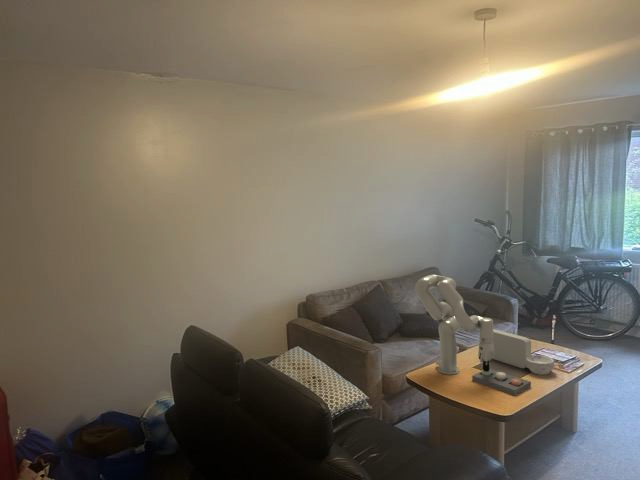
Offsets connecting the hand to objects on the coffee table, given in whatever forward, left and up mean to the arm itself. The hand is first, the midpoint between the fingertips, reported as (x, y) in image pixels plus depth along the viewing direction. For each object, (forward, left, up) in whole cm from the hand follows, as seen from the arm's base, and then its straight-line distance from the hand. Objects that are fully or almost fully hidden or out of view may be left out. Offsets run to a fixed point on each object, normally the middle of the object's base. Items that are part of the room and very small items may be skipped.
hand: (486, 370), depth 263 cm
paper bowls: (+15, +31, -5) cm, 35 cm away
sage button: (0, 0, -3) cm, 3 cm away
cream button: (+9, 0, -2) cm, 9 cm away
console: (+9, 0, -5) cm, 10 cm away
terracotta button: (+18, 0, -3) cm, 18 cm away
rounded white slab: (-6, +32, -5) cm, 33 cm away
